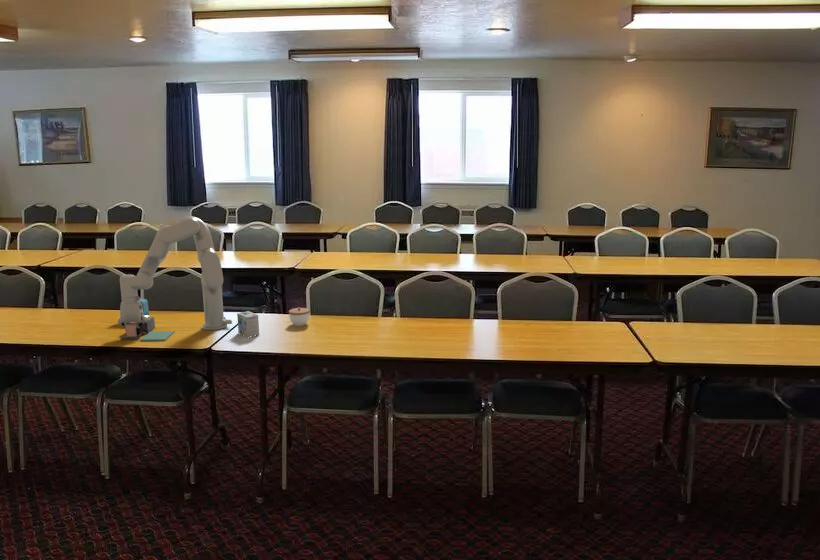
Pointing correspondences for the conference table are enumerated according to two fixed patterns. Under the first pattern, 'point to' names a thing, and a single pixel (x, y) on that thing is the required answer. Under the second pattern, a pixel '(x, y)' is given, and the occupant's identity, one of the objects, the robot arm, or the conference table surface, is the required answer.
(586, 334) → the conference table surface
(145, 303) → the data package
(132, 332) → the pink rectangular prism
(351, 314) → the conference table surface
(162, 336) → the pad
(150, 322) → the dispenser
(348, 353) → the conference table surface
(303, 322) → the lidded jar
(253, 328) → the light bulb box
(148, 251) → the robot arm
